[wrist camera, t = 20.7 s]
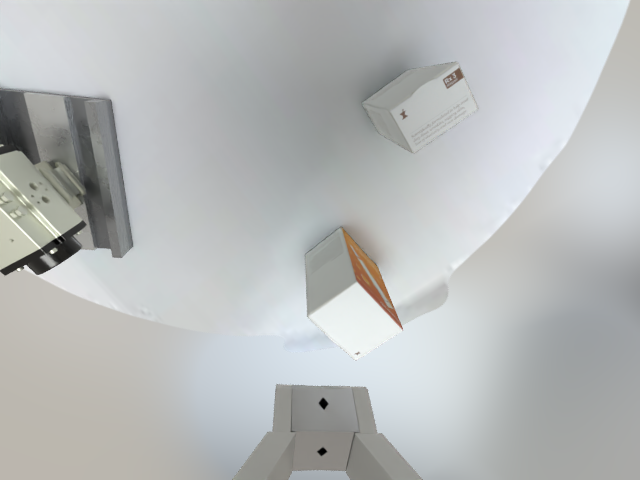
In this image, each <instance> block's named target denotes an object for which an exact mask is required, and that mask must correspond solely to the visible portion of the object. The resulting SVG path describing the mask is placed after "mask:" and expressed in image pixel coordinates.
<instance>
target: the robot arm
mask: <svg viewBox="0 0 640 480" xmlns="http://www.w3.org/2000/svg"><path fill="white" fill-rule="evenodd" d="M301 470H332V471H333V470H334V471H346V473H347V475H348V476H349V478H350V480H423V479H421V477H420V476H419V475H418V474H417V473H416V471H415V470H414V469H413V468H412V467H411V466H410V465H409V463H408V462H407V461H406V460H405V459H404V458H403V457H402V456H401V455H400V453H399V452H398V451H397V450H396V449H395V448H394V447H393V445H392V444H391V443H390V442H389V441H388V440H387V439H386V437H385V436H384V435H383V434H382V433H377V430H376V424H375V420H374V416H373V411H372V407H371V402H370V398H369V393H368V389H367V388H366V387H350V386H305V385H282V384H277V385H276V391H275V404H274V419H273V432H267V434H266V435H265V436H264V438H263V439H262V440H261V442H260V443H259V444H258V446H257V447H256V449H255V450H254V451H253V453H252V454H251V455H250V457H249V458H248V459H247V461H246V462H245V463H244V465H243V466H242V467H241V469H240V470H239V471H238V473H237V474H236V475H235V477H234V478H233V479H232V480H288V479H289V477H290V475H291V473H292V471H301Z"/></svg>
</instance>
